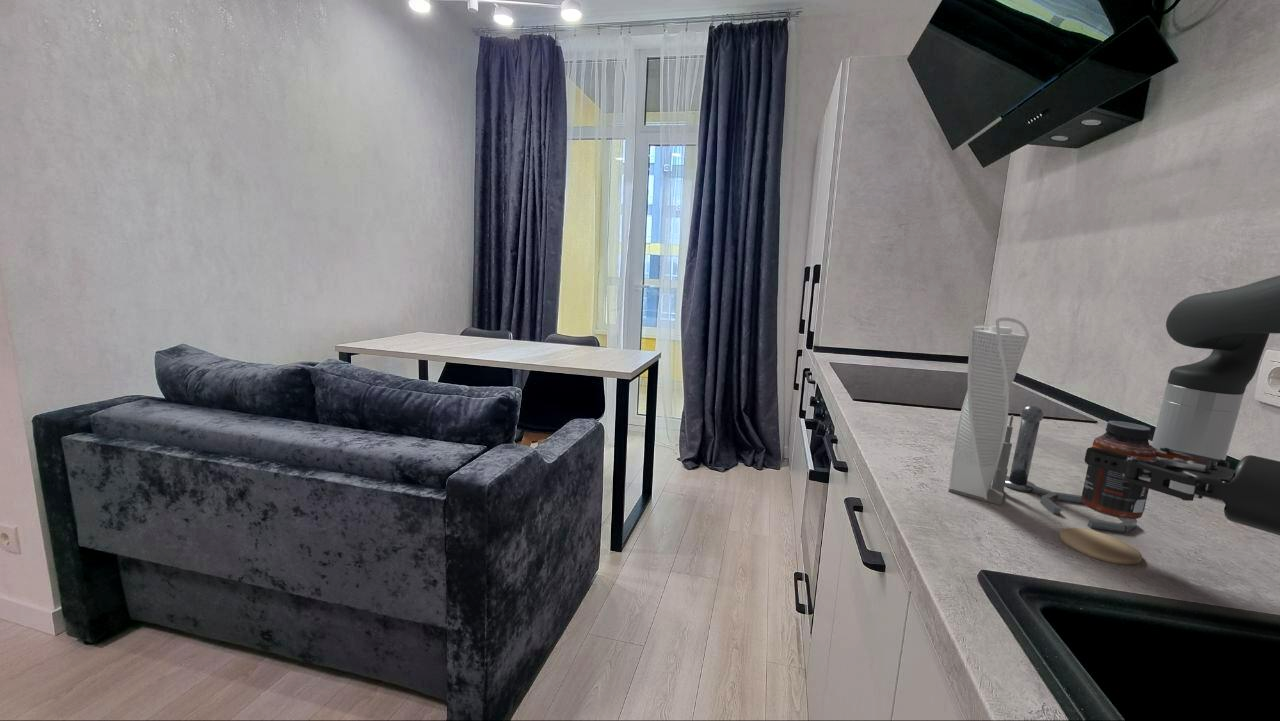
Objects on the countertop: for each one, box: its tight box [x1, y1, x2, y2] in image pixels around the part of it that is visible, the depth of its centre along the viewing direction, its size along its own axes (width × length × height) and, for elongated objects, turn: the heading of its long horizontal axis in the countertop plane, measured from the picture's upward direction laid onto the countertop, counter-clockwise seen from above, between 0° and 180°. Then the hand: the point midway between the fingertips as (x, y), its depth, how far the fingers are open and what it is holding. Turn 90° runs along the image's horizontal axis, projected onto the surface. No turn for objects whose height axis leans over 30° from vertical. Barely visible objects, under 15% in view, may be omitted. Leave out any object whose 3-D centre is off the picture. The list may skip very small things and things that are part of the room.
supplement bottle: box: [1081, 420, 1157, 520], centre depth 66 cm, size 6×6×11 cm
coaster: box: [1059, 527, 1143, 566], centre depth 68 cm, size 8×8×1 cm
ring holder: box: [1004, 404, 1138, 534], centre depth 80 cm, size 10×18×14 cm, turn 31°
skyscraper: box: [948, 317, 1030, 506], centre depth 81 cm, size 8×8×28 cm
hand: (1097, 451), depth 67 cm, fingers closed on supplement bottle, 6 cm apart
